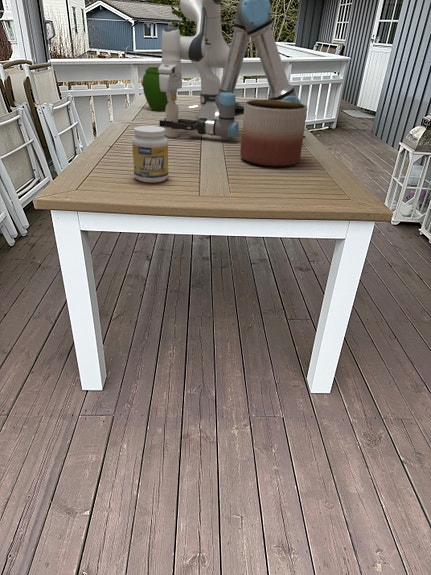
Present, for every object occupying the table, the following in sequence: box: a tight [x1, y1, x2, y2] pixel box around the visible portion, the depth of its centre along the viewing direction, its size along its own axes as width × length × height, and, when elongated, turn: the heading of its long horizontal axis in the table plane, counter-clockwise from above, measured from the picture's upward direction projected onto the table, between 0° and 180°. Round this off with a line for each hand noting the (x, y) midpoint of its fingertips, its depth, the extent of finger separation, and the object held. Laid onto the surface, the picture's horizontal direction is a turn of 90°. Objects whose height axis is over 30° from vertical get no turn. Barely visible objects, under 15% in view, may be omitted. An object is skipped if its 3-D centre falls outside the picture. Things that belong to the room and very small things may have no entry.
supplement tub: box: [131, 125, 169, 183], centre depth 142 cm, size 12×12×17 cm
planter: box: [240, 99, 308, 168], centre depth 169 cm, size 25×25×22 cm
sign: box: [235, 101, 246, 114], centre depth 284 cm, size 19×3×30 cm
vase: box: [141, 66, 172, 112], centre depth 261 cm, size 20×20×24 cm
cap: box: [171, 94, 178, 102], centre depth 197 cm, size 4×4×2 cm
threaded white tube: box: [165, 100, 179, 138], centre depth 202 cm, size 6×6×18 cm
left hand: (171, 100), depth 198 cm, fingers closed on cap, 4 cm apart
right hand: (162, 122), depth 204 cm, fingers closed on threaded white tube, 6 cm apart
